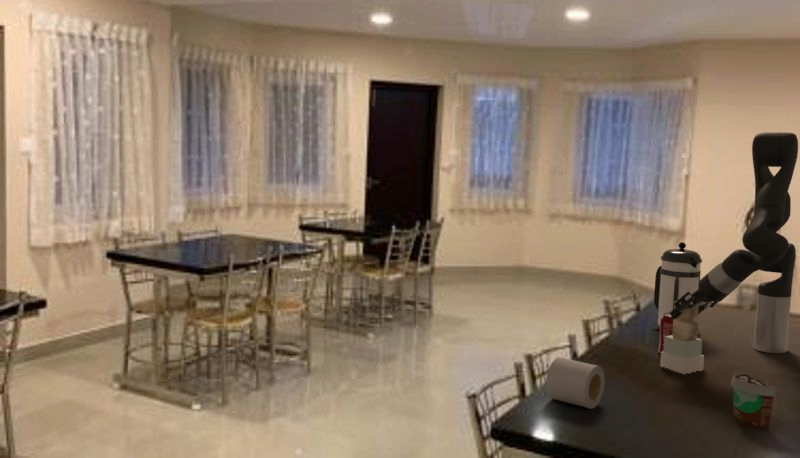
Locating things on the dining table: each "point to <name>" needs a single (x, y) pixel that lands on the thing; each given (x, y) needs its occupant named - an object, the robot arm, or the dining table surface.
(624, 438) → the dining table surface
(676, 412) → the dining table surface
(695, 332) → the beech pillar
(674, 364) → the tower base
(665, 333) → the soda can
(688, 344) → the tower top
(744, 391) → the food container
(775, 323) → the robot arm
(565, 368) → the toilet paper
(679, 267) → the coffee press
